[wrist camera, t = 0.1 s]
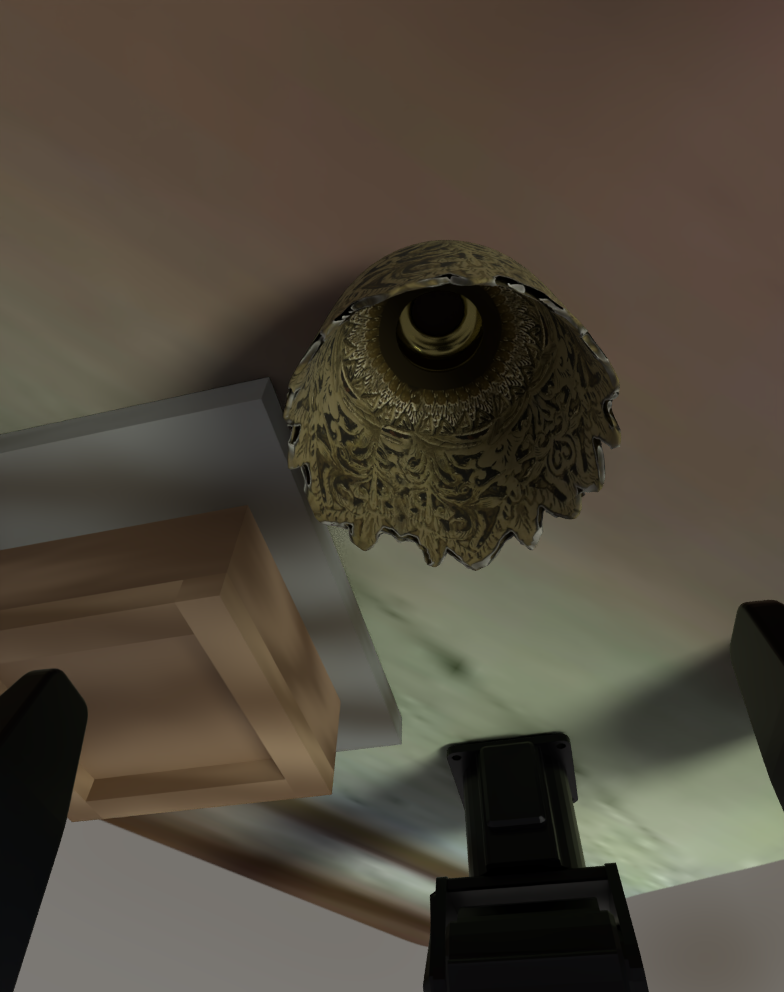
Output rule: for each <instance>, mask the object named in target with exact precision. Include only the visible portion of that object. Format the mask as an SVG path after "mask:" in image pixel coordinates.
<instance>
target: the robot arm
mask: <svg viewBox="0 0 784 992" xmlns="http://www.w3.org/2000/svg"><path fill="white" fill-rule="evenodd" d="M730 657H731V662H732V666H733V669H734V672H735V675H736V678H737V681H738V684H739V687H740V690H741V693H742V696H743V700H744V703H745V706H746V709H747V712H748V715H749V718H750V721H751V724H752V727H753V730H754V733H755V736H756V739H757V742H758V746H759V749H760V752H761V755H762V758H763V761H764V764H765V767H766V769H767V772H768V775H769V778H770V781H771V783H772V785H773V788H774V790H775V793H776V795H777V797H778V800H779V802H780V804H781V806H782V809H783V811H784V604H782V603H780V602H778V601H775V600H763V601H753V602H745V603H742V604H741V605H740V606H739V608H738V610H737V614H736V619H735V624H734V628H733V633H732V638H731V642H730ZM87 721H88V708H87V704H86V702H85V700H84V699H83V697H82V696H81V694H80V693H79V692H78V690H77V689H76V688H75V686H74V685H73V684H72V682H71V681H70V680H69V678H68V677H67V675H66V674H65V673H64V672H63V671H62V670H60V669H57V668H51V669H40V670H33V671H30V672H28V673H26V674H24V675H23V676H22V677H21V678H20V679H18V680H17V681H16V682H15V683H14V684H13V685H12V686H10V687H9V688H8V689H7V690H6V691H5V692H4V693H3V694H1V695H0V992H13V991H14V988H15V985H16V982H17V978H18V975H19V972H20V969H21V966H22V962H23V959H24V956H25V953H26V949H27V947H28V943H29V940H30V937H31V934H32V931H33V928H34V924H35V921H36V918H37V915H38V912H39V908H40V905H41V902H42V899H43V896H44V893H45V889H46V886H47V883H48V880H49V877H50V873H51V870H52V867H53V864H54V861H55V858H56V855H57V851H58V848H59V845H60V842H61V838H62V835H63V831H64V828H65V824H66V820H67V816H68V811H69V807H70V802H71V798H72V793H73V788H74V783H75V779H76V774H77V769H78V764H79V760H80V755H81V750H82V745H83V741H84V736H85V731H86V726H87ZM447 759H448V762H449V765H450V768H451V771H452V774H453V777H454V780H455V783H456V786H457V789H458V792H459V795H460V797H461V800H462V803H463V806H464V809H465V821H466V835H467V850H468V865H469V877H462V878H449V879H448V877H437V878H436V891H435V892H434V893H432V894H431V895H430V914H431V929H430V940H429V947H428V954H427V961H426V968H425V974H424V981H423V991H424V992H649V991H648V986H647V981H646V977H645V972H644V968H643V964H642V960H641V955H640V951H639V948H638V943H637V940H636V936H635V932H634V929H633V925H632V921H631V918H630V914H629V910H628V906H627V902H626V899H625V895H624V891H623V887H622V884H621V880H620V876H619V873H618V869H617V865H616V863H606V864H604V865H605V866H595V867H586V865H585V860H584V855H583V850H582V845H581V840H580V836H579V831H578V826H577V821H576V816H575V811H574V806H573V803H575V802H576V801H577V800H578V795H577V788H576V780H575V773H574V766H573V758H572V751H571V744H570V739H569V737H568V736H567V735H565V734H553V735H544V736H536V737H527V738H518V739H510V740H501V741H492V742H484V743H475V744H466V745H457V746H452V747H450V748H448V749H447Z"/></svg>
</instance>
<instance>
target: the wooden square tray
mask: <svg viewBox="0 0 784 992" xmlns="http://www.w3.org/2000/svg"><path fill="white" fill-rule="evenodd" d="M290 437H291V432H290V429H289V427H288V426H287V422H285V420H284V418H283V411H282V409H281V406H280V404H279V401H278V398H277V396H276V393H275V391H274V388H273V386H272V383H271V381H270V378H269V377H267V378H262V379H258V380H253V381H248V382H244V383H239V384H234V385H230V386H225V387H220V388H216V389H211V390H206V391H202V392H197V393H192V394H188V395H183V396H178V397H174V398H169V399H164V400H160V401H155V402H150V403H146V404H141V405H136V406H132V407H127V408H122V409H118V410H113V411H108V412H104V413H99V414H94V415H90V416H85V417H80V418H76V419H71V420H66V421H62V422H57V423H52V424H48V425H43V426H38V427H34V428H29V429H24V430H20V431H15V432H10V433H6V434H1V435H0V695H1V694H3V693H4V692H5V691H6V690H7V689H8V688H9V687H10V686H12V685H13V684H14V683H15V682H16V681H17V680H18V679H20V678H21V677H22V676H23V675H24V674H26V673H28V672H30V671H33V670H40V669H51V668H57V669H60V670H62V671H63V672H64V673H65V674H66V675H67V677H68V678H69V680H70V681H71V682H72V684H73V685H74V686H75V688H76V689H77V690H78V692H79V693H80V694H81V696H82V697H83V699H84V700H85V702H86V704H87V708H88V721H87V726H86V731H85V736H84V741H83V745H82V750H81V755H80V760H79V764H78V769H77V774H76V779H75V783H74V788H73V793H72V798H71V802H70V807H69V811H68V816H67V818H69V820H71V821H72V822H78V821H87V820H97V819H106V818H116V817H125V816H134V815H144V814H153V813H163V812H172V811H181V810H191V809H200V808H210V807H219V806H228V805H238V804H247V803H257V802H266V801H275V800H285V799H294V798H304V797H313V796H322V795H332V787H333V776H334V766H335V756H336V752H339V751H347V750H356V749H364V748H373V747H381V746H390V745H398V744H402V717H401V714H400V712H399V709H398V707H397V704H396V702H395V699H394V696H393V694H392V691H391V689H390V686H389V684H388V681H387V678H386V676H385V673H384V671H383V668H382V666H381V663H380V660H379V658H378V655H377V653H376V650H375V648H374V645H373V642H372V640H371V637H370V635H369V632H368V630H367V627H366V624H365V622H364V619H363V617H362V614H361V612H360V609H359V606H358V604H357V601H356V599H355V596H354V594H353V591H352V589H351V586H350V583H349V581H348V578H347V576H346V573H345V571H344V568H343V565H342V563H341V560H340V558H339V555H338V553H337V550H336V547H335V545H334V542H333V540H332V537H331V535H330V532H329V529H328V527H327V525H324V524H322V523H320V522H319V521H318V520H317V519H316V518H315V516H314V513H313V511H312V509H311V507H310V505H309V502H308V500H307V497H306V495H305V492H304V479H303V475H302V471H301V468H300V467H298V468H296V469H288V441H289V439H290Z"/></svg>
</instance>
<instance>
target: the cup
mask: <svg viewBox="0 0 784 992" xmlns="http://www.w3.org/2000/svg"><path fill="white" fill-rule="evenodd" d="M437 290H446V291H452V292H455V293H457V294H458V295H459V297H460V298H461V300H462V303H463V307H464V313H463V318H462V320H461V322H460V324H459V325H458V327H457V328H456V329H455V330H453V331H452V332H450V333H448V334H446V335H442V336H432V335H428V334H426V333H424V332H422V331H421V330H420V329H419V328H418V327H417V326H416V325H415V323H414V321H413V318H412V306H413V303H414V301H415V299H416V297H418V296H420V295H422V294H424V293H427V292H431V291H437ZM290 388H291V389H290ZM619 388H620V384H619V380H618V377H617V375H616V373H615V371H614V369H613V367H612V365H611V363H610V362H609V360H608V359H607V357H606V356H605V354H604V353H603V352H602V350H601V349H600V348H599V346H598V345H597V344H596V342H595V341H594V340H593V338H592V337H591V335H590V334H589V333H588V332H587V329H586V328H585V327H584V326H583V325H582V324H581V323H580V322H579V321H578V320H577V318H576V317H574V316H573V315H572V314H571V313H570V312H569V311H568V310H567V309H566V308H565V306H564V305H563V304H562V303H561V302H560V301H559V300H558V299H557V298H556V297H555V295H554V294H553V293H552V292H551V291H550V290H549V289H548V288H547V287H546V286H545V285H544V284H543V283H542V282H541V281H540V280H539V279H537V278H536V277H535V276H534V275H533V274H532V273H531V272H530V271H528V270H527V269H526V268H525V267H523V266H522V265H520V264H519V263H517V262H516V261H514V260H513V259H511V258H510V257H508V256H506V255H504V254H502V253H500V252H498V251H496V250H493V249H491V248H488V247H485V246H482V245H478V244H474V243H470V242H464V241H455V240H438V241H428V242H423V243H419V244H414V245H411V246H408V247H405V248H402V249H400V250H398V251H396V252H393V253H391V254H389V255H387V256H385V257H384V258H382V259H380V260H379V261H377V262H376V263H374V264H373V265H371V266H370V267H369V268H368V269H366V270H365V271H364V272H363V273H362V274H361V275H360V276H359V277H358V278H357V279H356V280H355V281H354V282H353V283H352V284H351V285H350V286H349V287H348V288H347V289H346V291H345V292H344V293H343V295H342V296H341V297H340V298H339V300H338V301H337V303H336V304H335V305H334V307H333V309H332V310H331V312H330V313H329V315H328V317H327V318H326V320H325V322H324V323H323V325H322V327H321V329H320V330H319V332H318V334H317V335H316V337H315V339H314V340H313V342H312V344H311V346H310V347H309V349H308V351H307V352H306V354H305V355H304V357H303V358H302V360H301V361H300V363H299V365H298V366H297V368H296V370H295V372H294V373H293V375H292V377H291V380H290V382H289V386H288V389H290V390H289V392H288V394H287V403H286V406H285V409H284V413H283V418H284V420H285V422H287V426H293V428H292V432H291V437H290V439H289V441H288V469H296V468H298V467H300V468H301V471H302V475H303V479H304V492H305V495H306V497H307V500H308V502H309V505H310V507H311V509H312V511H313V513H314V516H315V518H316V519H317V520H318V521H319V522H320V523H322V524H324V525H332V526H337V527H338V528H343V529H348V530H349V537H350V540H351V542H352V543H354V544H355V545H356V546H357V547H359V548H360V549H362V550H363V551H367V550H369V549H371V548H373V546H374V544H375V543H377V542H378V539H379V537H380V535H381V534H383V533H381V534H379V533H380V532H384V533H386V534H388V535H392V536H393V537H394V538H395V539H396V541H397V542H400V543H402V542H407V541H410V542H413V541H414V542H415V543H417V545H418V547H419V549H422V552H423V555H424V560H425V562H426V563H427V565H429V566H432V567H436V566H438V565H440V564H441V563H442V562H443V561H444V558H445V557H446V554H447V553H448V554H450V555H451V556H453V557H454V558H455V559H456V560H457V561H458V562H460V563H462V564H463V565H465V567H466V568H468V569H471V570H475V571H476V570H479V569H481V568H483V567H485V566H488V565H489V564H490V563H491V562H492V560H493V559H494V558H495V557H496V556H497V555H498V554H499V552H500V550H501V548H502V546H503V545H504V543H505V542H506V541H507V540H509V539H511V538H512V537H513V536H515V537H516V538H517V540H518V541H519V542H520V544H522V545H525V546H526V547H527V548H528V549H529V550H533V549H534V548H535V547H536V545H537V544H538V542H539V539H540V536H541V535H542V533H543V527H542V519H543V512H544V510H546V512H547V513H549V514H551V515H552V516H554V517H556V518H557V517H562V518H565V519H575V518H577V516H578V515H579V514H580V511H581V508H582V506H581V500H582V498H581V497H583V496H584V495H585V493H584V492H589V493H590V492H599V491H600V490H601V489H602V487H603V484H604V479H605V463H604V454H603V450H602V446H601V445H602V443H601V441H602V442H604V443H605V444H607V445H608V446H610V449H613V448H616V447H620V443H621V431H620V428H619V426H618V424H617V421H616V419H615V417H614V415H613V412H612V408H611V406H612V400H613V399H615V398H616V397H618V394H619ZM583 489H584V491H583ZM378 534H379V535H378Z"/></svg>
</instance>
